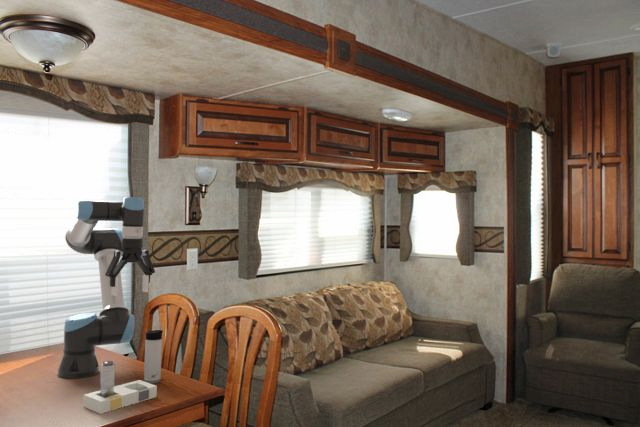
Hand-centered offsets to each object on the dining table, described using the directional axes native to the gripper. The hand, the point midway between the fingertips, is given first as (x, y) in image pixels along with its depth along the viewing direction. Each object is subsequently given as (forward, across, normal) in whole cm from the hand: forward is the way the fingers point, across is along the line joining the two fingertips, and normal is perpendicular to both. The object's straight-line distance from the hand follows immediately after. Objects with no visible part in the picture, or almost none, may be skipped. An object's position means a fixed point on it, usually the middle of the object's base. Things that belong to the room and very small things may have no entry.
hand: (130, 293), depth 209 cm
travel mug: (+35, +9, -4) cm, 36 cm away
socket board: (+35, -12, -14) cm, 39 cm away
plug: (+35, -18, -14) cm, 41 cm away
